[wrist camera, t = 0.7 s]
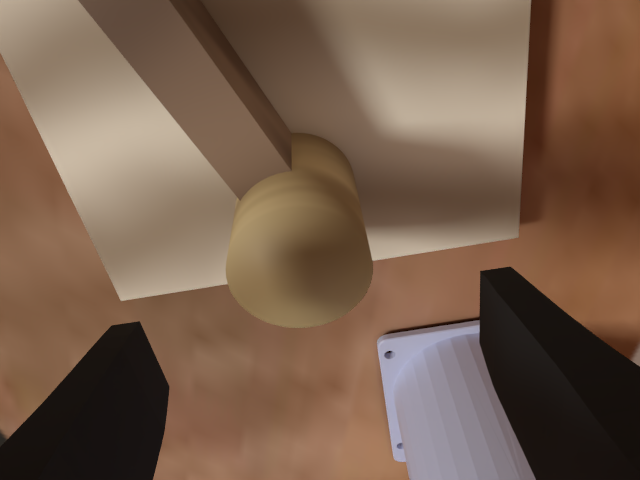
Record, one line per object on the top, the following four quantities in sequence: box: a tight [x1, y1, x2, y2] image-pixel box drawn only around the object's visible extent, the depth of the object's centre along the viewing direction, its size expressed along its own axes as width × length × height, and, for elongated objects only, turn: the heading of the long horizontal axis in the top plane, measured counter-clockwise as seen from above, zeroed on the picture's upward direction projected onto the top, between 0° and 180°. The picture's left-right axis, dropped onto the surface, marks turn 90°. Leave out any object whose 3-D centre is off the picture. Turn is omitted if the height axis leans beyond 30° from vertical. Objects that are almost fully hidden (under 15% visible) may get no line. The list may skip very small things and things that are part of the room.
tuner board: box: [0, 0, 531, 301], centre depth 17 cm, size 18×16×1 cm
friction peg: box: [78, 0, 373, 328], centre depth 14 cm, size 15×4×5 cm, turn 31°
